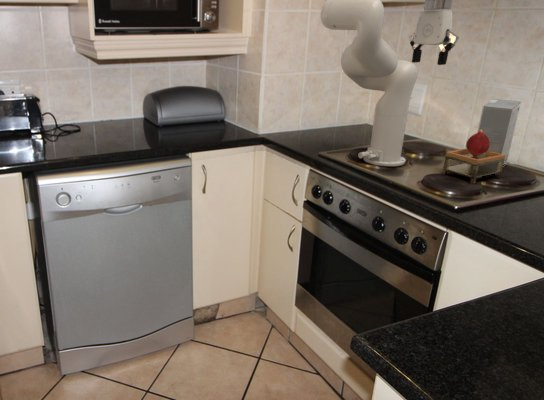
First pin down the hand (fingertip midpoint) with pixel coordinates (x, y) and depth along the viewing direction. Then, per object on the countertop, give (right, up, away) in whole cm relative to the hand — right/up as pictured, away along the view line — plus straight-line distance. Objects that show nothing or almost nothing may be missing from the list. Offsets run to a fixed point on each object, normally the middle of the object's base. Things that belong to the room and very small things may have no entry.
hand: (428, 63), depth 154 cm
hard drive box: (+16, -34, -5) cm, 38 cm away
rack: (+6, -37, -12) cm, 40 cm away
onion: (+6, -32, -14) cm, 35 cm away
